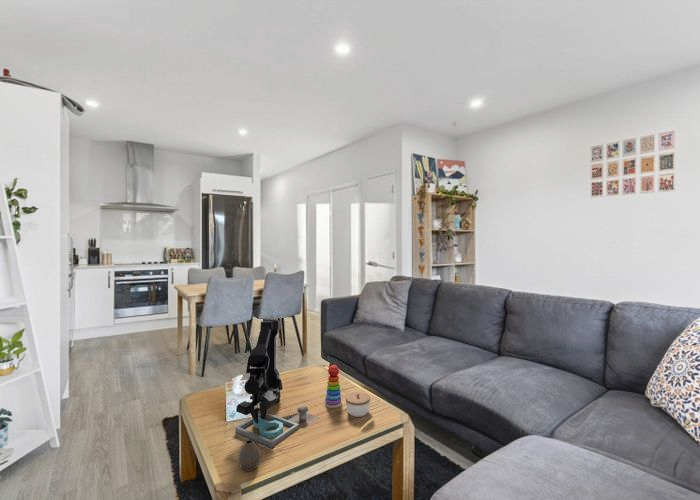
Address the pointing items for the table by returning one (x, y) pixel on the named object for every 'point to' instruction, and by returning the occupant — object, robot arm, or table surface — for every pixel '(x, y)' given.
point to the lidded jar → (358, 403)
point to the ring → (264, 425)
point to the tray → (262, 440)
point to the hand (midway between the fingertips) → (259, 421)
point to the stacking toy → (333, 388)
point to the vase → (249, 456)
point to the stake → (303, 417)
